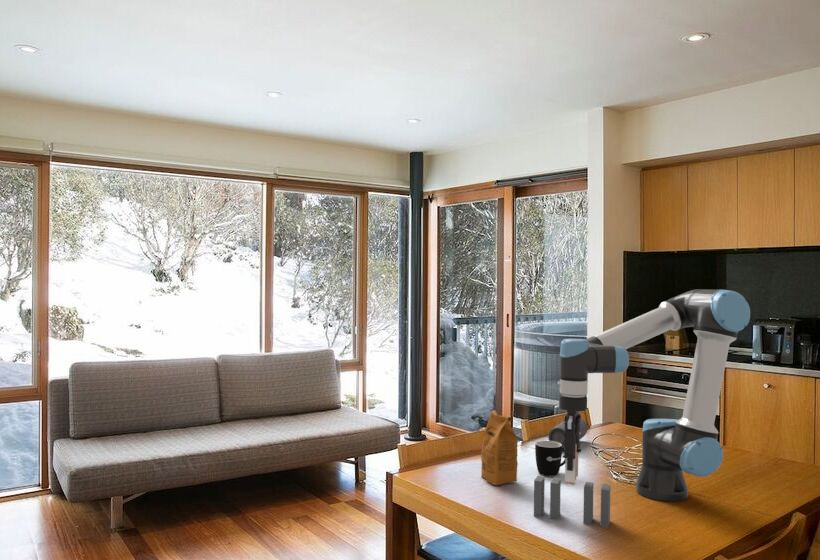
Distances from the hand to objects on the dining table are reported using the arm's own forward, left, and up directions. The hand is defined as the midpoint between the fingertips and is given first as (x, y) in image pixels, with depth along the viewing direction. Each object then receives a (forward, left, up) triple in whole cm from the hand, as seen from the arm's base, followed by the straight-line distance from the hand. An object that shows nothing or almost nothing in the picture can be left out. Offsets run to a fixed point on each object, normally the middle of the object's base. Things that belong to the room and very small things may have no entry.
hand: (571, 478), depth 179 cm
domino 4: (-5, 0, -11) cm, 12 cm away
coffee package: (+27, -25, -11) cm, 38 cm away
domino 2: (+4, 0, -11) cm, 12 cm away
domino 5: (-9, 0, -11) cm, 14 cm away
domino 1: (+9, 0, -11) cm, 14 cm away
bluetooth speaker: (+12, -79, -11) cm, 81 cm away
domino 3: (0, 0, -1) cm, 1 cm away
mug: (+12, -40, -11) cm, 43 cm away
